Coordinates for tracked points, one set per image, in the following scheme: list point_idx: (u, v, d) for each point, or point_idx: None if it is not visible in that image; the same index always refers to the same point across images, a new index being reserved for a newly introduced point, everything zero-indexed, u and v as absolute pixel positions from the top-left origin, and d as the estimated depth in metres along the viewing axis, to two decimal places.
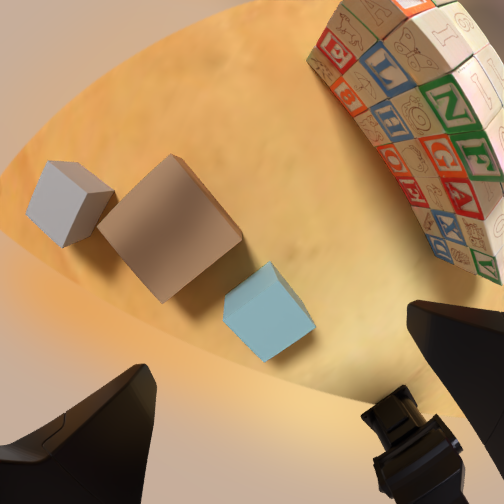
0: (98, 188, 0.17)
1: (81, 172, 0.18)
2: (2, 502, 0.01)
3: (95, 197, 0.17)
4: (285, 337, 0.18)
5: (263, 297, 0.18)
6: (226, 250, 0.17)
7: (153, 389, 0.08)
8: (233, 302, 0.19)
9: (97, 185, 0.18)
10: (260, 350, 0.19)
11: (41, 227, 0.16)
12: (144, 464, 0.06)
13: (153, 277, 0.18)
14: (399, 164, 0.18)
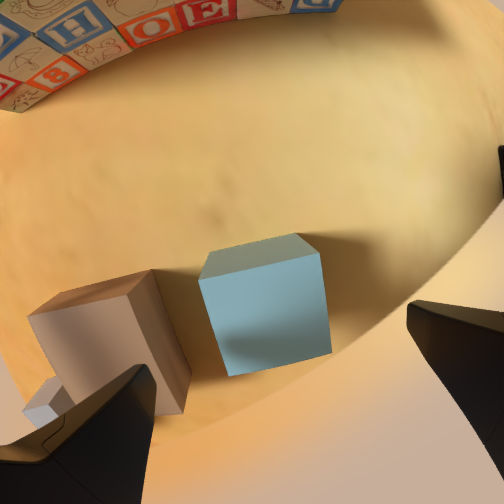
0: (59, 386, 0.14)
1: (47, 387, 0.14)
2: (3, 502, 0.01)
3: (62, 395, 0.13)
4: (308, 309, 0.10)
5: (216, 313, 0.10)
6: (134, 319, 0.11)
7: (153, 389, 0.08)
8: None
9: (59, 383, 0.14)
10: (307, 350, 0.11)
11: None
12: (144, 464, 0.06)
13: None
14: (156, 21, 0.09)
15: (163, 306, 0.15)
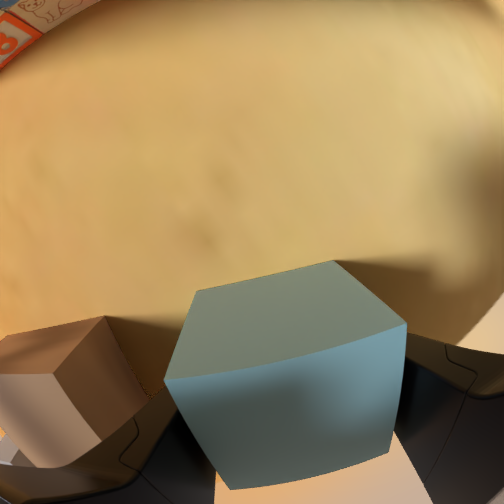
0: None
1: None
2: None
3: None
4: (369, 411, 0.05)
5: (204, 428, 0.05)
6: (72, 406, 0.05)
7: None
8: None
9: None
10: (354, 457, 0.05)
11: None
12: None
13: None
14: None
15: (126, 366, 0.09)
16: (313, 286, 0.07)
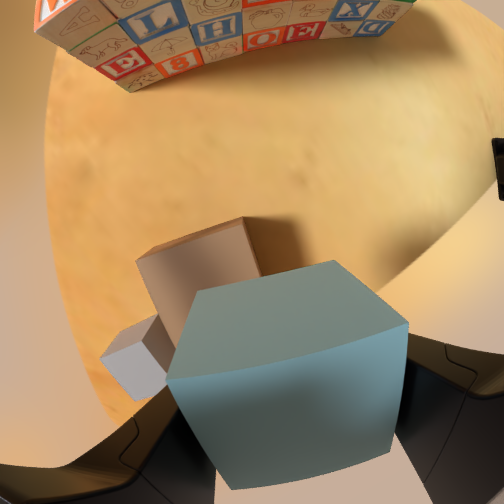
0: (146, 327, 0.19)
1: (127, 334, 0.20)
2: None
3: (151, 334, 0.18)
4: (370, 411, 0.05)
5: (206, 428, 0.05)
6: (246, 243, 0.16)
7: None
8: None
9: (144, 326, 0.20)
10: (356, 457, 0.05)
11: (152, 394, 0.18)
12: None
13: None
14: (269, 34, 0.14)
15: None
16: (314, 286, 0.07)
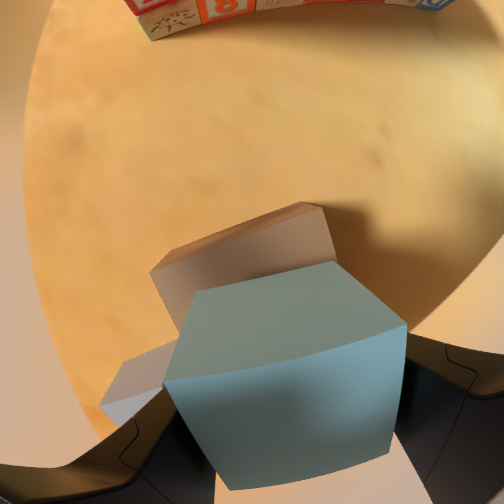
0: (164, 362, 0.13)
1: (135, 369, 0.14)
2: None
3: None
4: (369, 412, 0.05)
5: (204, 429, 0.05)
6: (328, 237, 0.10)
7: None
8: None
9: (160, 359, 0.14)
10: (354, 458, 0.05)
11: None
12: None
13: None
14: None
15: None
16: (313, 286, 0.07)
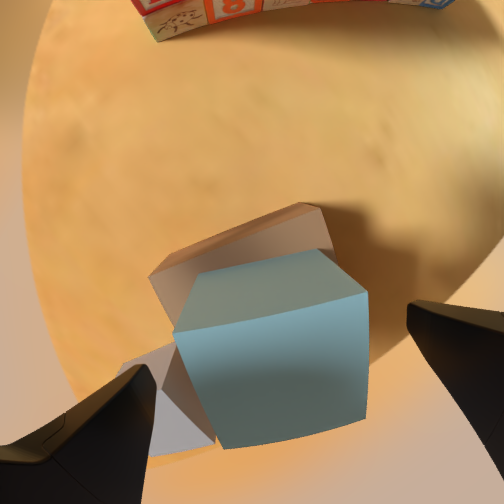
0: (164, 364, 0.13)
1: None
2: (3, 503, 0.01)
3: (173, 375, 0.12)
4: (342, 371, 0.06)
5: (203, 380, 0.06)
6: (327, 238, 0.10)
7: (153, 389, 0.08)
8: None
9: (159, 361, 0.13)
10: (334, 420, 0.07)
11: (176, 450, 0.12)
12: (144, 464, 0.06)
13: None
14: None
15: None
16: (296, 267, 0.09)
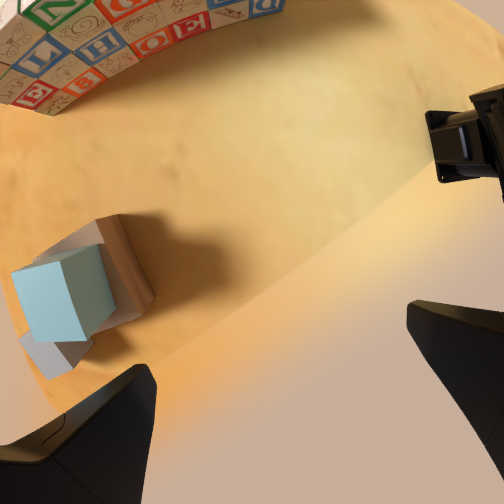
0: None
1: None
2: (2, 502, 0.01)
3: None
4: (61, 301, 0.12)
5: (20, 295, 0.12)
6: (101, 237, 0.16)
7: (153, 389, 0.08)
8: None
9: None
10: (70, 334, 0.12)
11: (57, 374, 0.17)
12: (144, 464, 0.06)
13: (115, 313, 0.17)
14: (155, 38, 0.14)
15: (128, 240, 0.19)
16: (71, 252, 0.14)
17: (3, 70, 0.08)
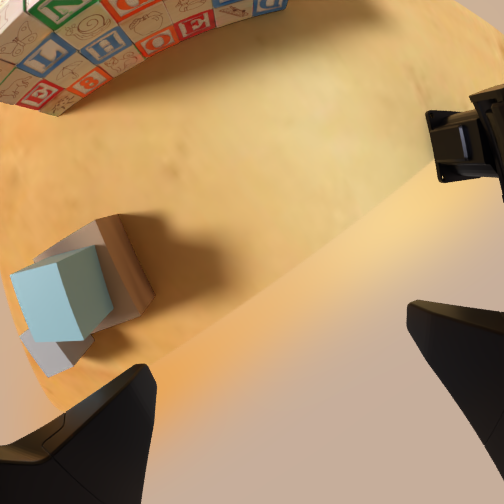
0: None
1: None
2: (3, 502, 0.01)
3: None
4: (59, 302, 0.12)
5: (19, 297, 0.12)
6: (100, 237, 0.16)
7: (153, 389, 0.08)
8: None
9: None
10: (68, 334, 0.12)
11: (57, 371, 0.17)
12: (144, 464, 0.06)
13: (114, 312, 0.17)
14: (161, 36, 0.14)
15: (127, 239, 0.20)
16: (68, 253, 0.14)
17: (8, 69, 0.08)
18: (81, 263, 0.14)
